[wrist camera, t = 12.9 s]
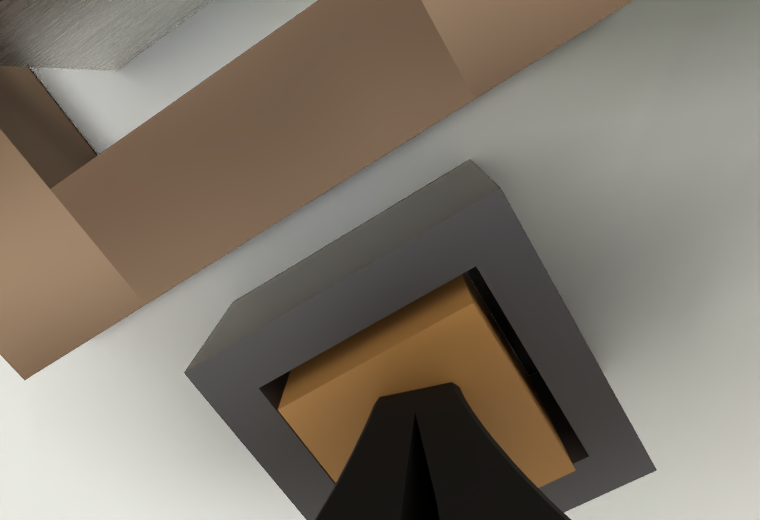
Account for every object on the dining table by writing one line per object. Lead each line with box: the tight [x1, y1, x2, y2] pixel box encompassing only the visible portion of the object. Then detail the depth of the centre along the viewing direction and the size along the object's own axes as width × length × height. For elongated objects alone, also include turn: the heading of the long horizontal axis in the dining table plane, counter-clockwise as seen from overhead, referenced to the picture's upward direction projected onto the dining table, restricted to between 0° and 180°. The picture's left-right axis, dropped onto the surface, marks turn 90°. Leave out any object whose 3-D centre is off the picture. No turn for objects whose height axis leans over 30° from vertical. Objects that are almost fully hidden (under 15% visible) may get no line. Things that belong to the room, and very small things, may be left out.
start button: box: [278, 272, 576, 488], centre depth 10 cm, size 4×4×3 cm
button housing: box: [184, 160, 656, 520], centre depth 11 cm, size 6×6×3 cm
